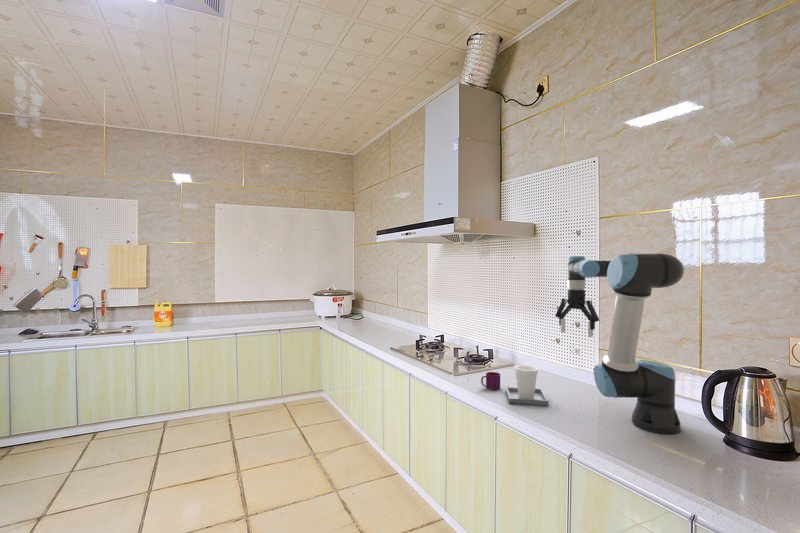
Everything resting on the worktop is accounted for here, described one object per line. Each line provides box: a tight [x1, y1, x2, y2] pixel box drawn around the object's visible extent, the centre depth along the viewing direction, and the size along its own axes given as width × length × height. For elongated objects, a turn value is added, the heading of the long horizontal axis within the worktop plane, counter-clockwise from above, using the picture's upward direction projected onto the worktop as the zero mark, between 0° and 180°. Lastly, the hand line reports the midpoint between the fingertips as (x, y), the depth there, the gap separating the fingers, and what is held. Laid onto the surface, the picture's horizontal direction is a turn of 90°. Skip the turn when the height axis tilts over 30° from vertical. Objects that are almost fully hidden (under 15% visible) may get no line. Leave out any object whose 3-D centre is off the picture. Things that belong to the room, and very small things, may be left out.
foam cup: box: [514, 364, 538, 399], centre depth 173 cm, size 10×9×13 cm
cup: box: [480, 371, 501, 391], centre depth 188 cm, size 7×10×7 cm
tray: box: [505, 386, 549, 407], centre depth 173 cm, size 16×16×2 cm
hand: (576, 334), depth 182 cm, fingers open, 13 cm apart
